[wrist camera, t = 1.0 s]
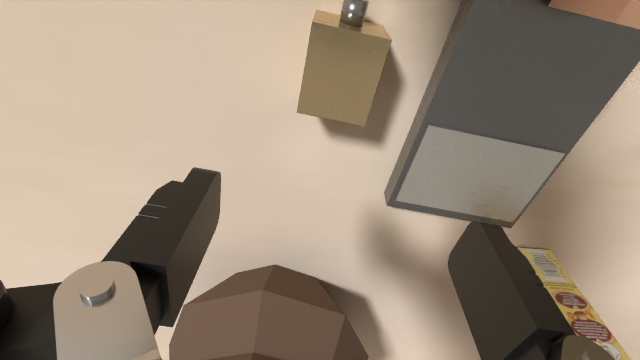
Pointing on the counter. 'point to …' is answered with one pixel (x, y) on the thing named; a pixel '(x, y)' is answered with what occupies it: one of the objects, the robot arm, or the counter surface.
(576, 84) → the press bed
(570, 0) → the block
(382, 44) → the block
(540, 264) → the candy box
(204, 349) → the brown cauldron
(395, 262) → the counter surface
